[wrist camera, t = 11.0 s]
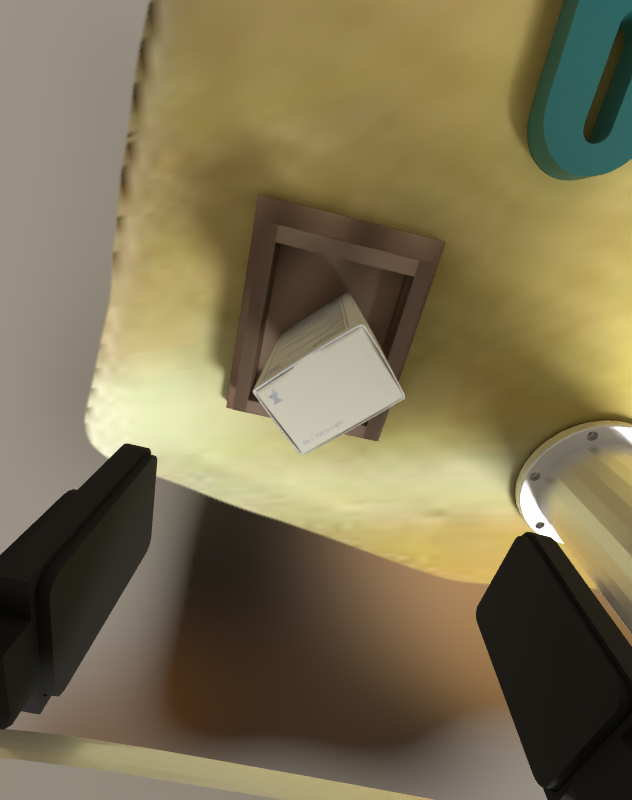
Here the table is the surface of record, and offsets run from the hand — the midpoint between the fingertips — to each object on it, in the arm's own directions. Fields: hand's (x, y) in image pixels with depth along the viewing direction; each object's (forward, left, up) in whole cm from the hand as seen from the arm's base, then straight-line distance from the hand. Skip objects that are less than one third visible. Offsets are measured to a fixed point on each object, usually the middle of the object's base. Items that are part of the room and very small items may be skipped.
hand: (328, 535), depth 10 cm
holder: (0, 0, -22) cm, 22 cm away
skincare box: (0, 0, -21) cm, 21 cm away
